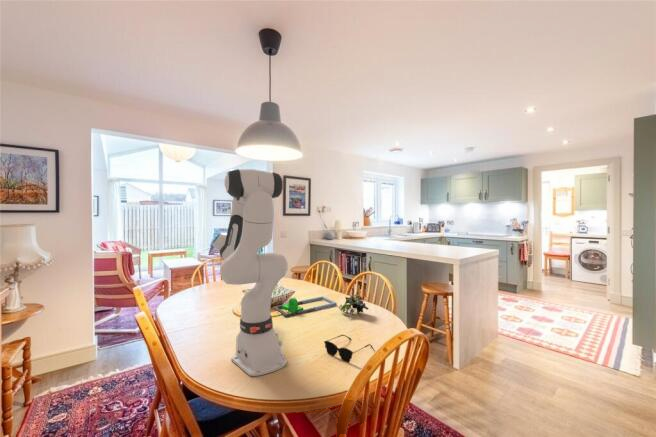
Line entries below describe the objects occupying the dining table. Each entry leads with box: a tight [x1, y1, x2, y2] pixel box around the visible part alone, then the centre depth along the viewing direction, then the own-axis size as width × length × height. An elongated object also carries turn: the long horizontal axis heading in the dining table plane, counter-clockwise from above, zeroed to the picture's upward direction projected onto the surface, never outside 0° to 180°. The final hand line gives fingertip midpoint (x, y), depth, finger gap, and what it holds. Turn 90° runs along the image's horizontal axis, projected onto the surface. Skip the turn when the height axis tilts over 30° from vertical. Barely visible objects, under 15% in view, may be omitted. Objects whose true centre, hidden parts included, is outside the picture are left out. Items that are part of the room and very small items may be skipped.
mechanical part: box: [281, 297, 304, 313], centre depth 156 cm, size 12×6×8 cm, turn 46°
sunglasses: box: [323, 334, 373, 363], centre depth 110 cm, size 14×16×5 cm
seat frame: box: [273, 300, 316, 318], centre depth 156 cm, size 16×18×1 cm
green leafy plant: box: [338, 294, 369, 317], centre depth 148 cm, size 13×12×14 cm
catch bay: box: [301, 295, 337, 311], centre depth 165 cm, size 15×15×2 cm
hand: (258, 275), depth 146 cm, fingers open, 8 cm apart
